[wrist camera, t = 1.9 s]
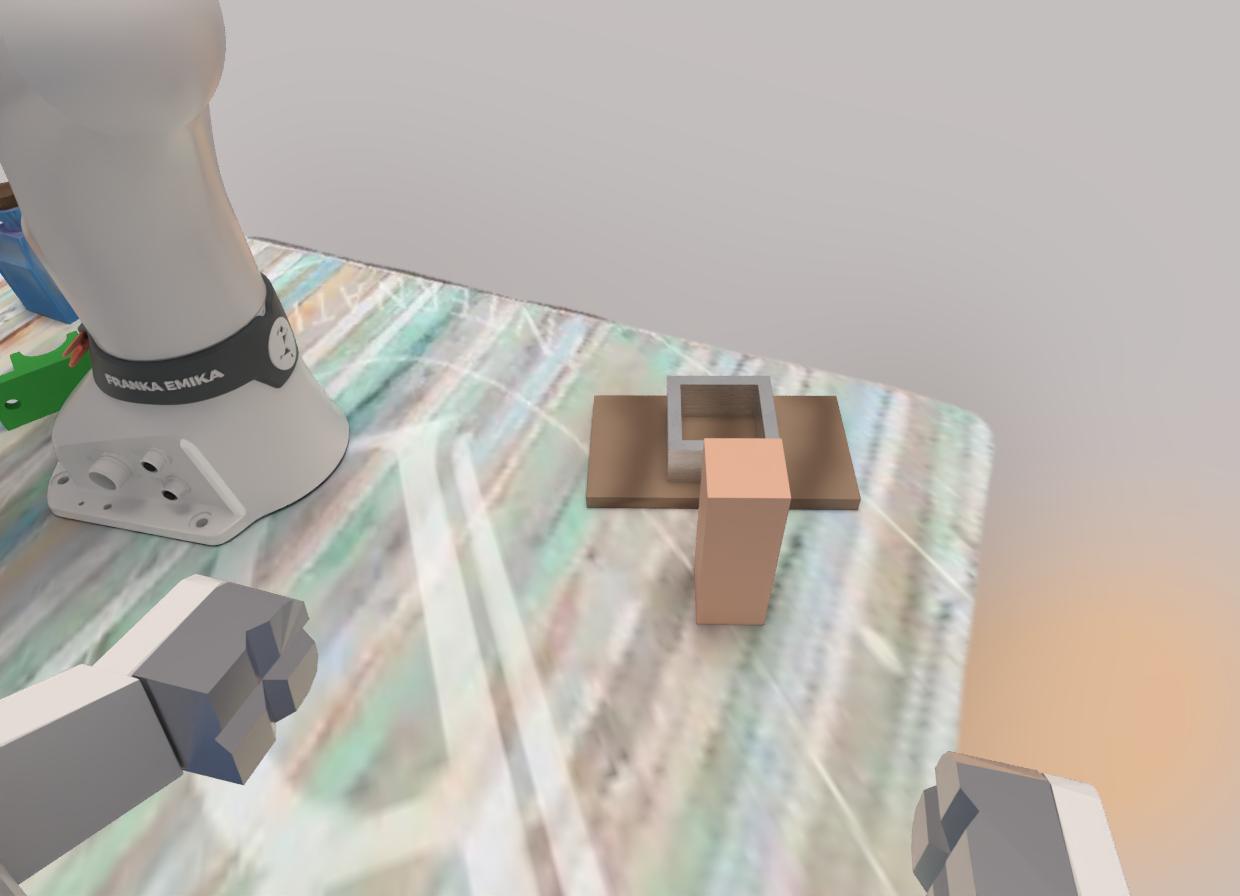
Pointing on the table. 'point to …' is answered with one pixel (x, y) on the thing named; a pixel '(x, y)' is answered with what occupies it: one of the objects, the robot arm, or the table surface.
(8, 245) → the perfume bottle
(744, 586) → the tall rectangular block
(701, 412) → the square metal frame
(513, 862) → the table surface
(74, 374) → the pipe clamp
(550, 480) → the table surface
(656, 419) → the holder base
